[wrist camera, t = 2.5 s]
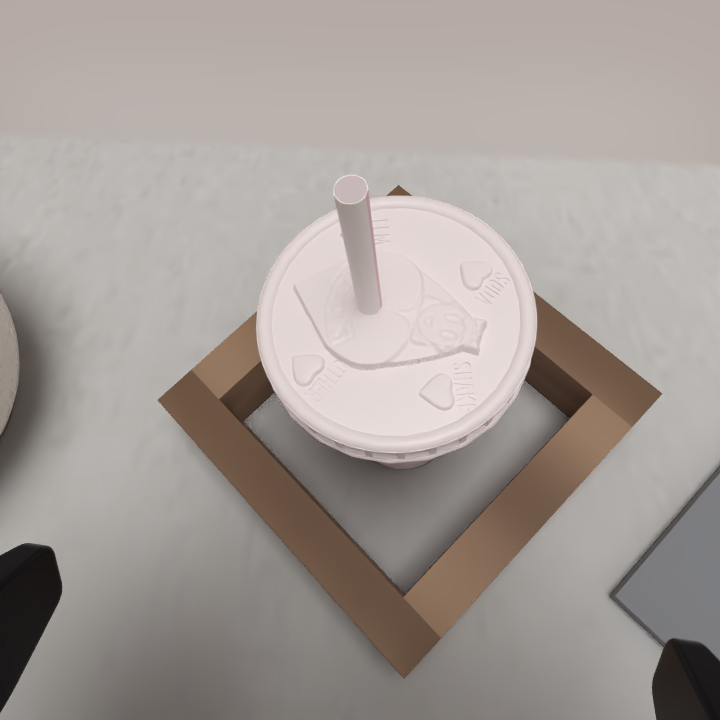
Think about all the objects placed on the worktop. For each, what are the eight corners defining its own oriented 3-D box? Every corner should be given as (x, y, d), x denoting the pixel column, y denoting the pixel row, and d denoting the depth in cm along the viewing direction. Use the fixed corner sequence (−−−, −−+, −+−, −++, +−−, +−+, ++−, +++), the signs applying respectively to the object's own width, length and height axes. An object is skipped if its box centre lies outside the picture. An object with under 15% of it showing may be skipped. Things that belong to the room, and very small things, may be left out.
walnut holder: (405, 664, 20) (403, 678, 17) (188, 421, 23) (157, 399, 20) (630, 417, 22) (662, 393, 19) (400, 228, 25) (398, 185, 22)
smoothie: (349, 321, 24) (269, 13, 11) (508, 365, 23) (634, 77, 10) (293, 475, 22) (114, 326, 9) (463, 532, 21) (545, 454, 8)
